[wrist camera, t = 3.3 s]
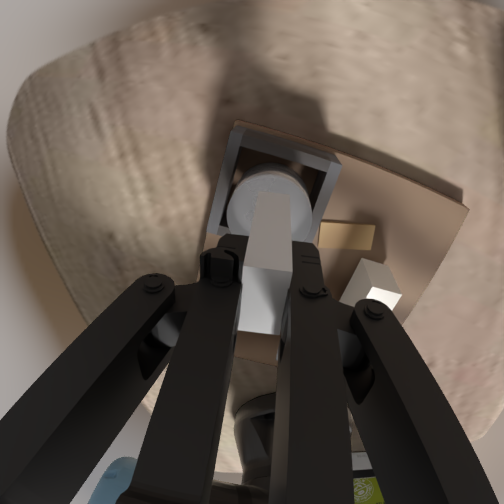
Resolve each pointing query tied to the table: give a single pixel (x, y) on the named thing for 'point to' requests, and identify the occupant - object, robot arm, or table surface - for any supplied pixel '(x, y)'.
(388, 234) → the board
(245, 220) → the button
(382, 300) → the peg lever
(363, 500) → the tea box
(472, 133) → the table surface
